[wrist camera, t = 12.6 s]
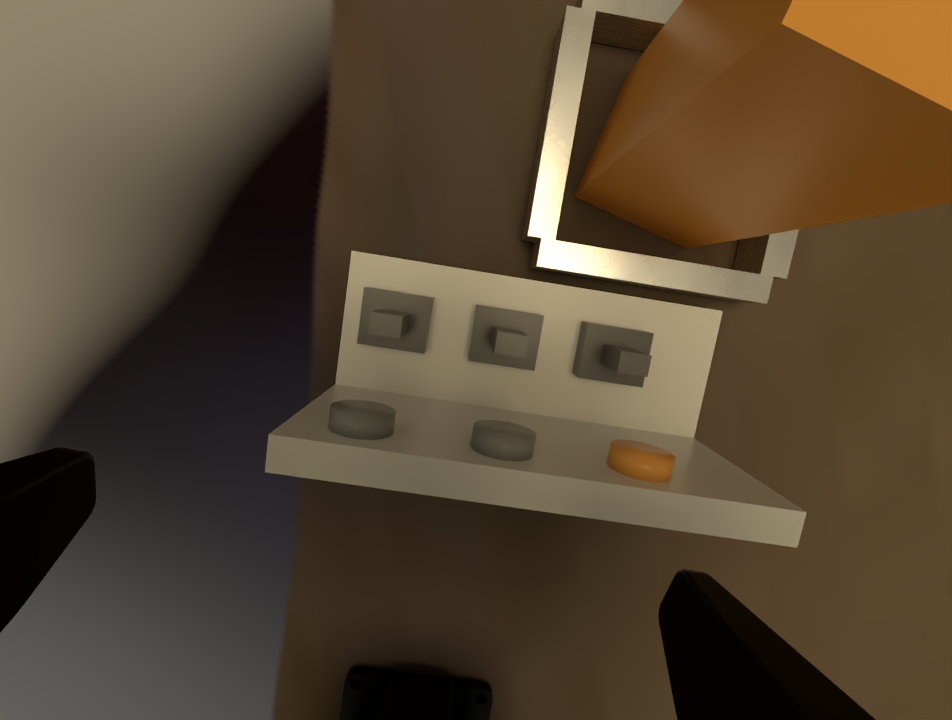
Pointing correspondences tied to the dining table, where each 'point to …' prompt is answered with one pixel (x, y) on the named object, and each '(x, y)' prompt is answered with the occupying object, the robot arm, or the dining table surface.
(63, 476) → the robot arm
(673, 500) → the breaker bank
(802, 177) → the cap
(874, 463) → the dining table surface
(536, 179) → the frame
